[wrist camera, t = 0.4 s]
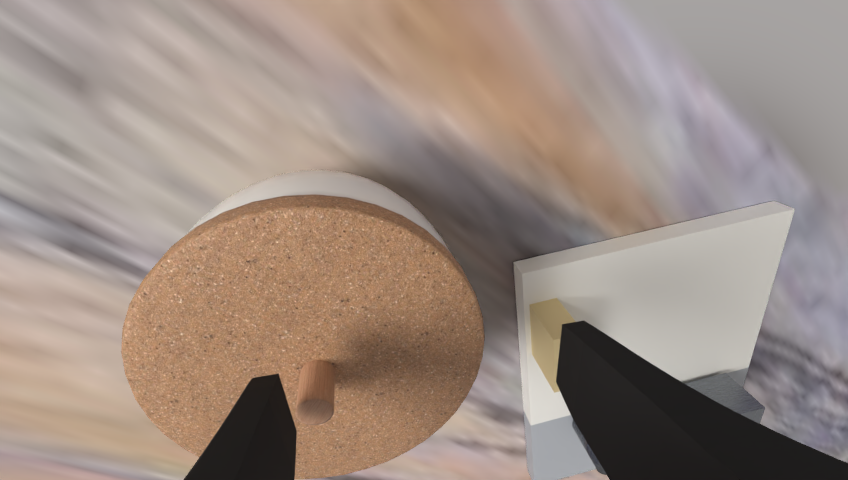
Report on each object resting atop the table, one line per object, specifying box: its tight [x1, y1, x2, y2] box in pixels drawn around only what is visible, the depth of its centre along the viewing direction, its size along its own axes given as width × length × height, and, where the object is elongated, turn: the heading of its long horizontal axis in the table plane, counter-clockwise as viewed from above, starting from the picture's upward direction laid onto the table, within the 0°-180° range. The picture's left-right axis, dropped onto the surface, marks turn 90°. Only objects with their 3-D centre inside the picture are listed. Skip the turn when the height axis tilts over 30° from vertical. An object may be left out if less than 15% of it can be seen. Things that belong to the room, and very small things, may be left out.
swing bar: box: [572, 373, 765, 475], centre depth 25 cm, size 10×3×3 cm, turn 99°
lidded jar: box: [122, 170, 484, 479], centre depth 15 cm, size 11×11×9 cm
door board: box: [513, 201, 795, 480], centre depth 25 cm, size 18×15×4 cm
